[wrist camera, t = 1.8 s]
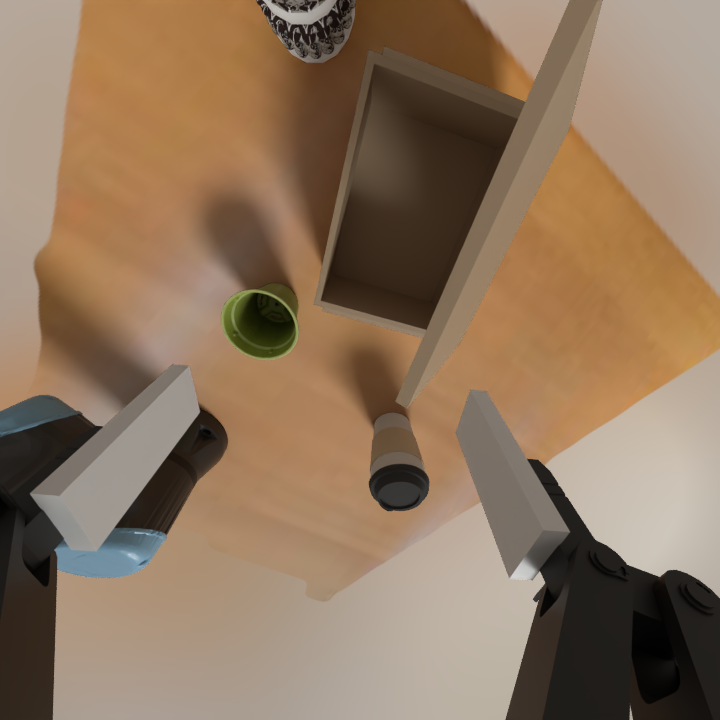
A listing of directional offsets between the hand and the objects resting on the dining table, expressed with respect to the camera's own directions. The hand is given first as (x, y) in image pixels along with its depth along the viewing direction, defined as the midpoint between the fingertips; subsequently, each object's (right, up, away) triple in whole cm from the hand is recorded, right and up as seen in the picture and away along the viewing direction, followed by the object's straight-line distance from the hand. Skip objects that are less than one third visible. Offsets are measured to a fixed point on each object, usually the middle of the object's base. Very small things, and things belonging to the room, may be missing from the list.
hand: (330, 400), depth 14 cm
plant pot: (-11, +10, +30) cm, 33 cm away
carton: (+7, +20, +23) cm, 32 cm away
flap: (+10, +10, +7) cm, 16 cm away
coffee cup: (+7, -10, +41) cm, 43 cm away
